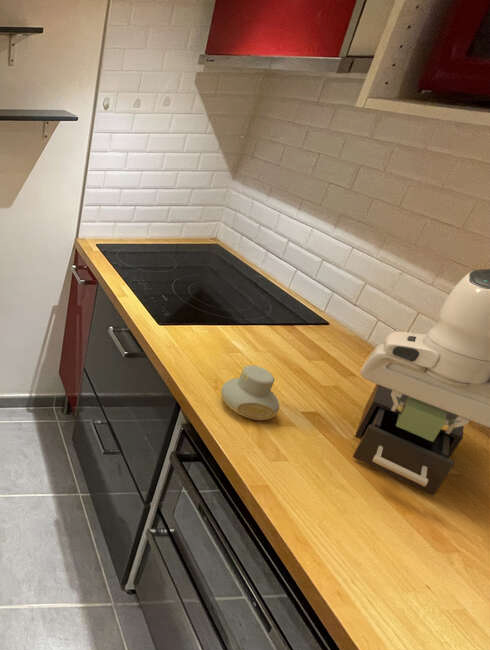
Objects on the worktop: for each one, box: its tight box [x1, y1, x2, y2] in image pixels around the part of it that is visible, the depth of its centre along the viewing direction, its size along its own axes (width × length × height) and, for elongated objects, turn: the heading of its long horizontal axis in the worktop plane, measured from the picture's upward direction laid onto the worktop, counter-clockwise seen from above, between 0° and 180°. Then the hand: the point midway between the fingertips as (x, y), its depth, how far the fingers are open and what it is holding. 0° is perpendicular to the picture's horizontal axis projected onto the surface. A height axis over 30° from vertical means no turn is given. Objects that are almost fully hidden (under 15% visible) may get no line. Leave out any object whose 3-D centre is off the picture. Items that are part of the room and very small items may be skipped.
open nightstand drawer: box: [352, 407, 455, 497], centre depth 85 cm, size 18×11×8 cm, turn 132°
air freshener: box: [221, 365, 280, 421], centre depth 98 cm, size 11×8×10 cm
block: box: [396, 396, 447, 442], centre depth 82 cm, size 5×5×5 cm
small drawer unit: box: [354, 383, 465, 459], centre depth 92 cm, size 15×13×10 cm
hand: (418, 420), depth 82 cm, fingers closed on block, 5 cm apart
